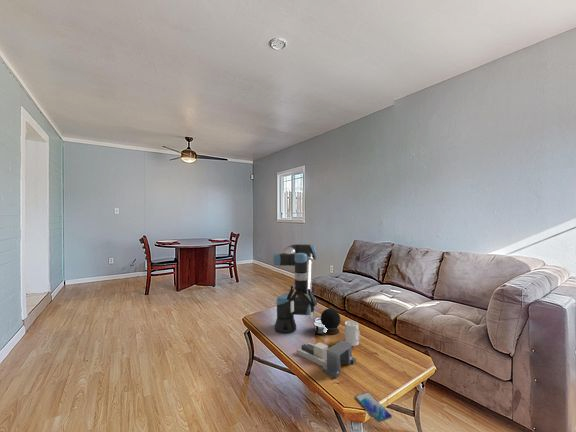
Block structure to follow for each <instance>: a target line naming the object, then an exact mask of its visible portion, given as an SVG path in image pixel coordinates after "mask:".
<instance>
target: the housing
mask: <svg viewBox="0 0 576 432" xmlns="http://www.w3.org/2000/svg"><path fill="white" fill-rule="evenodd" d="M352 347H353V346H352V344H351V343H348V342H346V341H345V340H342V339H341V340H340V341H338V342H337V343H335V344H333V345H332V346H330V347H328V349H327V360H326V361H327V366H324V367H323V366H322V368H321V369H322V373H324V374H326V375H328V376H330V377H332V378H333V379H338V377H340V374H341V364H343V365H346V366H349V367H350V366H351V365H354V364H355V363H357V360H356V359H357V358H356V357H354V356H352V355H353V354H352Z"/></svg>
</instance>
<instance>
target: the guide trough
mask: <svg viewBox="0 0 576 432" xmlns="http://www.w3.org/2000/svg"><path fill="white" fill-rule="evenodd" d="M306 345H307V346H310V347H312V348H314V345H315V344H314V343H312V342H307V343H306ZM296 354H297V355H298V356H300V357H303V358H305V359H307V360H309V361H311V362H313V363H315V364H317V365H319V366H321V367H322V368H323V367H324V366H327V360H322V359H320V358H318V357H316V356H314V355H312V354H310V353H307V352H305V351H303V350H302V348H297V349H296Z"/></svg>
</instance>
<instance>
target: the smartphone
mask: <svg viewBox="0 0 576 432" xmlns="http://www.w3.org/2000/svg"><path fill="white" fill-rule="evenodd" d="M354 398H355V400H356V401H357V402H358V403H359V404H360V403H361V404H362V405H363V406H364V407H365V408H366V409H367V410H366V409H365V408H364V407H363V406H362V405H361V404H360V405H361V406H362V407H363V408H364V409H365V410H366V411H367V412H368V414H369V415H371V417H372V418H373V419H374V420H375V422H377V423H381V422H384V421H387V420H389V419H392V417H393V415H392V414H391V413H390V412H389V411H388V410H387V409H386V408H385V407H384V406H383V405H382V404H381V403H380V402H379V401H378V400H377V399H376V398H375V397H374V396H373V395H372V394H371V393H370V392H368V391H367V392H363V393H359V394H357V395H355V396H354Z"/></svg>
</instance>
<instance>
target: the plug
mask: <svg viewBox="0 0 576 432" xmlns="http://www.w3.org/2000/svg"><path fill="white" fill-rule="evenodd" d="M327 349H329V346H328V345H326V344H324V343H323V342H317V343H315V344H314V348H312V347H310V346H307V344H302V345H301V350H303V351H305V352H307V353H310V354H312V355H314V356H316V357H318V358H320V359H322V360H325V361H327Z"/></svg>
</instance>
